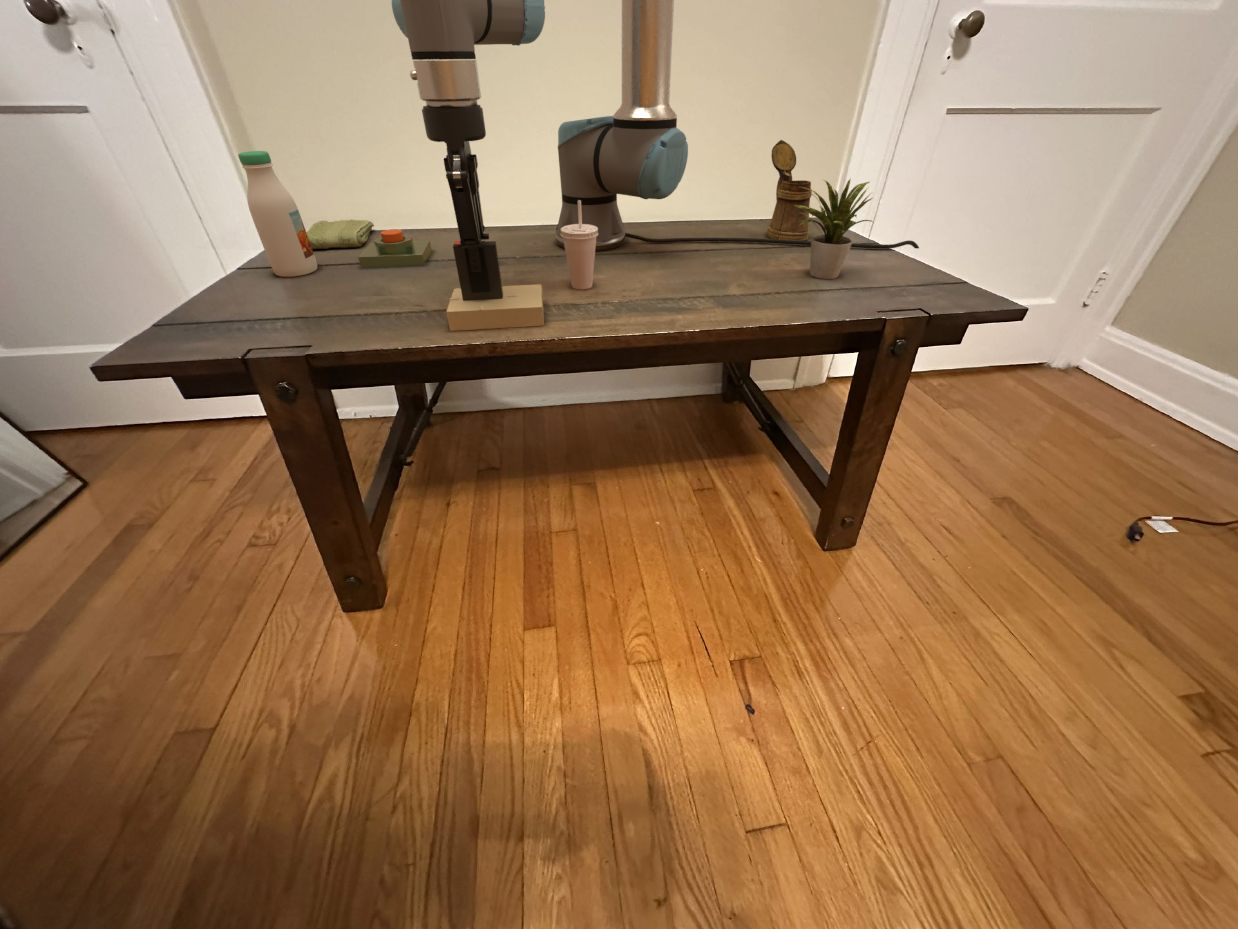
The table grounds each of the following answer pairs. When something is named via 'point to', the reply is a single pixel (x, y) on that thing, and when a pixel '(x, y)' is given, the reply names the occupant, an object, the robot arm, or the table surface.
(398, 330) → the table surface
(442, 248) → the table surface
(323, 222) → the washcloth
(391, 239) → the button
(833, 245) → the house plant
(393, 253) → the switch block
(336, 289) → the table surface
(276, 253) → the milk bottle
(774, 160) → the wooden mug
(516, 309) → the tan wooden block
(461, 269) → the black rectangular block
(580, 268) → the smoothie
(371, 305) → the table surface
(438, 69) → the robot arm
